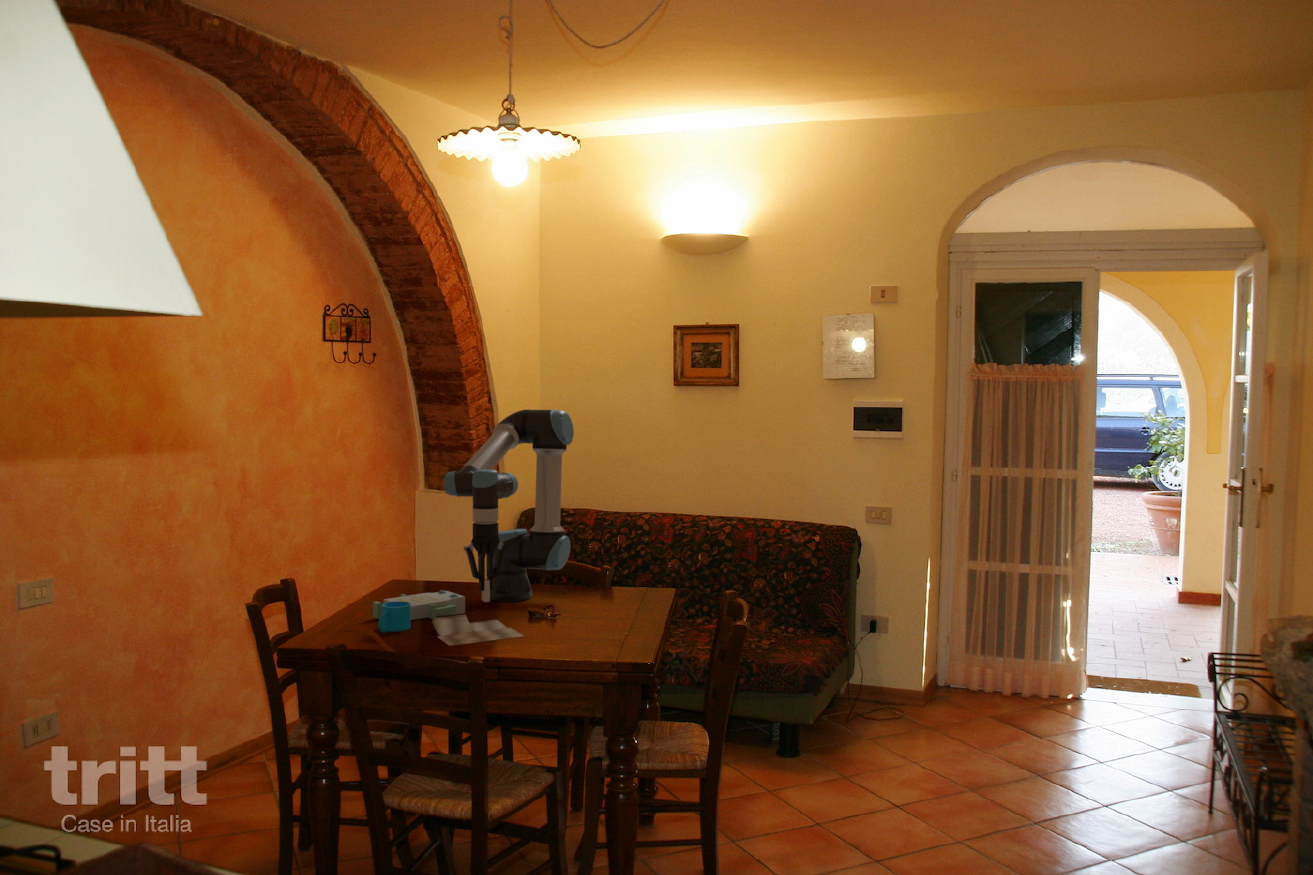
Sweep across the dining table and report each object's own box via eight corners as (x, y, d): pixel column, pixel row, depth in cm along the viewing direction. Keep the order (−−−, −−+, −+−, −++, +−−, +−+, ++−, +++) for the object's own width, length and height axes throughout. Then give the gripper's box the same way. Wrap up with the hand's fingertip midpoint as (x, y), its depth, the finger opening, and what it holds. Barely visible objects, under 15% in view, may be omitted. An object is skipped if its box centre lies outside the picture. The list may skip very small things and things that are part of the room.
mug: (393, 627, 281) (393, 600, 280) (416, 630, 278) (416, 602, 277) (367, 637, 269) (367, 608, 269) (391, 640, 267) (391, 611, 266)
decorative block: (439, 586, 310) (472, 596, 296) (439, 605, 311) (472, 616, 296) (366, 597, 293) (397, 608, 278) (366, 617, 293) (397, 630, 279)
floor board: (510, 631, 277) (510, 627, 277) (524, 640, 268) (524, 635, 268) (436, 640, 266) (436, 636, 266) (449, 649, 257) (449, 645, 256)
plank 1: (440, 639, 267) (440, 635, 267) (432, 621, 273) (433, 618, 273) (473, 634, 272) (473, 631, 272) (465, 618, 278) (465, 614, 278)
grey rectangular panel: (474, 635, 272) (475, 631, 272) (465, 627, 279) (466, 623, 279) (506, 631, 277) (507, 627, 277) (497, 623, 284) (497, 619, 284)
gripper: (501, 518, 284) (502, 596, 285) (460, 521, 277) (460, 600, 279) (511, 522, 277) (511, 601, 279) (468, 525, 271) (468, 606, 272)
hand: (485, 600), depth 279 cm, fingers closed
